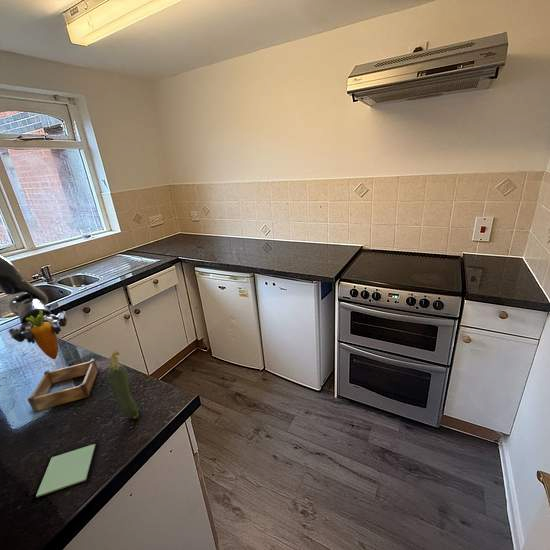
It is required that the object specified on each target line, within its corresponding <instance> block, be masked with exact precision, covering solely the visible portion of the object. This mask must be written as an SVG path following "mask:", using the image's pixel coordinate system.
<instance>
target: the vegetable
mask: <svg viewBox="0 0 550 550" xmlns="http://www.w3.org/2000/svg"><path fill="white" fill-rule="evenodd" d="M118 356H120V352H119V351H118V350H114V351H113V352H112V354H111V355H110V357H109V369H108V370H107V372H106V378H107V382H108V385H109V387H110V389H111V391H112V395H113V397H114V399H115V401H116V404H117V407H118V409H119V410H120V411H121V413H122V414H123V416H124V417H126V418H129V419H133V420H134V419H138V417H139V410H138V405H137V404H136V402H135V400H134V398H133V395H132V394H131V390H130V382H129V374H128V370H127V369H126V367H125V366H124V365H123V364H121V363H120V361H119V358H118Z"/></svg>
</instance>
